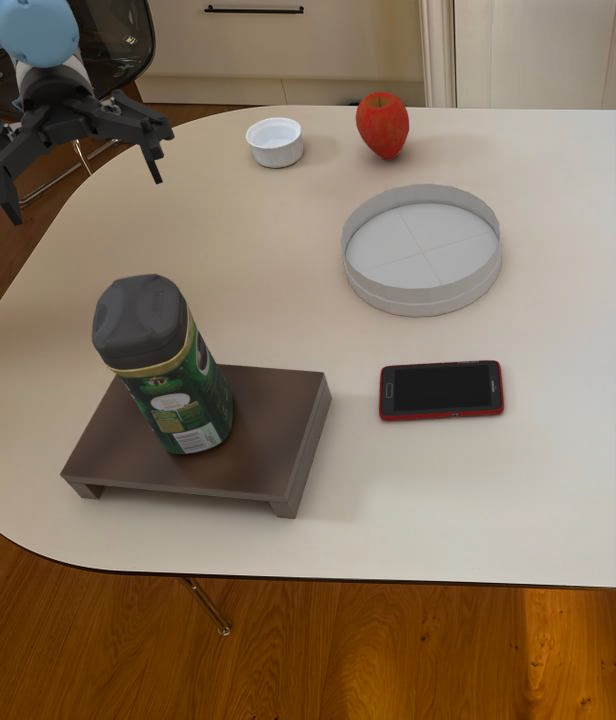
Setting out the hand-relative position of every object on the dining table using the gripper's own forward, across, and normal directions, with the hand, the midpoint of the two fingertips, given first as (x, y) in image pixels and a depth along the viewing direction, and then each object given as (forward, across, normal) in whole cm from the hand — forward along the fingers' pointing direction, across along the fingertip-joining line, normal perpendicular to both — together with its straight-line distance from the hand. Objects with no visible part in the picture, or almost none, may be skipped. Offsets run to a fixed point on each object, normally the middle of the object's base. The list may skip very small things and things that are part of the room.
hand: (85, 193), depth 70 cm
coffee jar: (+16, -1, -20) cm, 26 cm away
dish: (-1, -35, -25) cm, 43 cm away
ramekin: (-36, -25, -25) cm, 50 cm away
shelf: (+16, -1, -25) cm, 30 cm away
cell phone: (+22, -27, -25) cm, 43 cm away
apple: (-26, -41, -25) cm, 54 cm away
